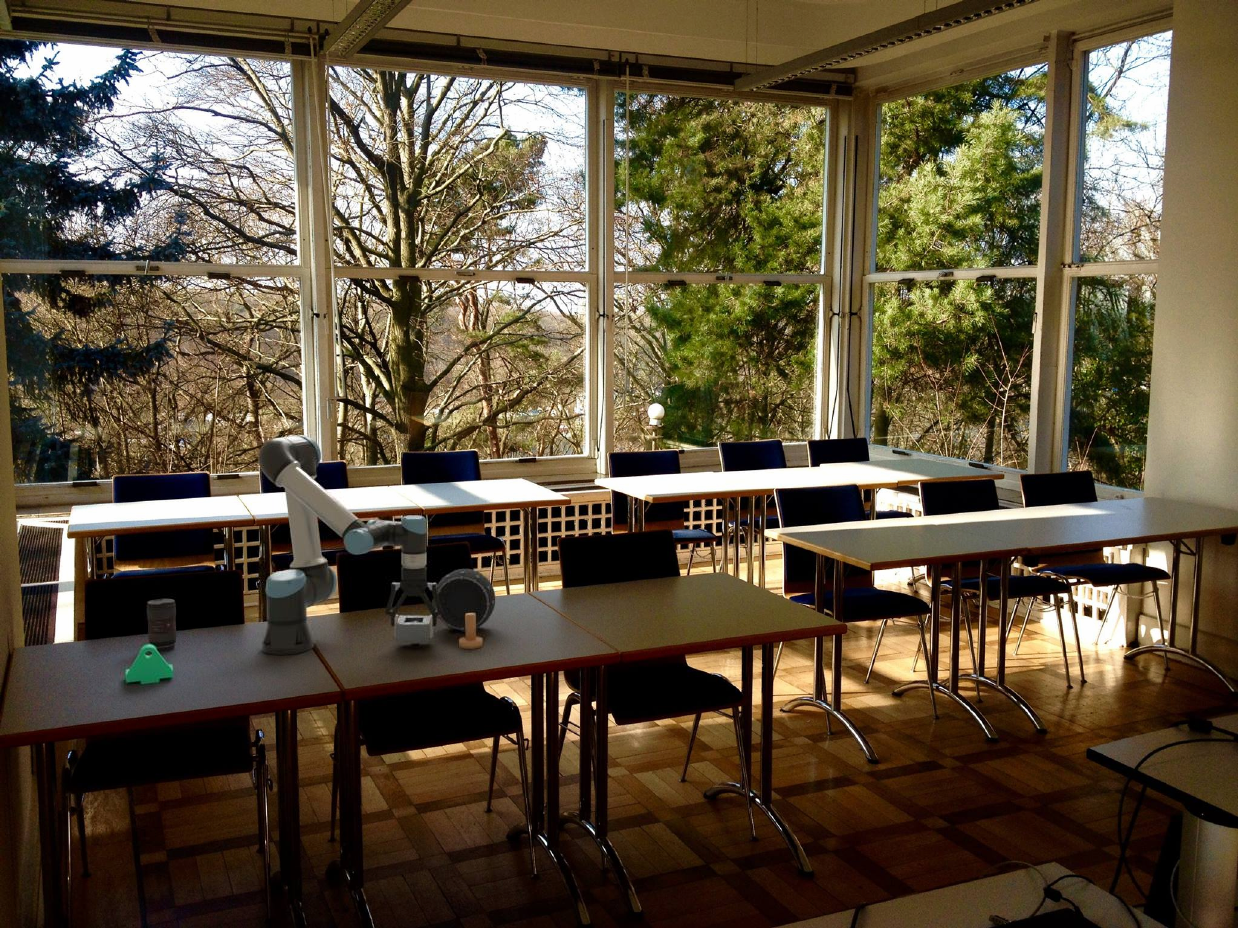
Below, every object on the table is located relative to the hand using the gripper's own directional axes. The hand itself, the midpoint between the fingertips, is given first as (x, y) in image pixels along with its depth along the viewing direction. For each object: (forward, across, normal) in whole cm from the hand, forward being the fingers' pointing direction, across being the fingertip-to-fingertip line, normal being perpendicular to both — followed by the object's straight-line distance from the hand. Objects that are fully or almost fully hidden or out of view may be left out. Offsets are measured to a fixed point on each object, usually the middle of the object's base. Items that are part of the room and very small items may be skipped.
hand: (413, 636), depth 330 cm
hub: (+3, +18, 0) cm, 18 cm away
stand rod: (+3, +1, 0) cm, 3 cm away
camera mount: (+5, -70, -27) cm, 75 cm away
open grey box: (+1, 0, 0) cm, 1 cm away
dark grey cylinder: (+5, -76, +3) cm, 77 cm away
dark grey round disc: (+3, +15, +19) cm, 24 cm away
